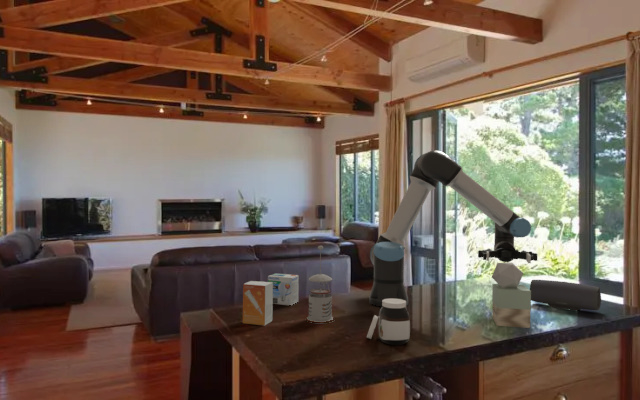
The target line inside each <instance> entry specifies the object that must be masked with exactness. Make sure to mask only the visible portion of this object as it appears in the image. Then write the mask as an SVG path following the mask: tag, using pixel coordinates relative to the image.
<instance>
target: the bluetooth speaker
mask: <svg viewBox="0 0 640 400" xmlns="http://www.w3.org/2000/svg"><path fill="white" fill-rule="evenodd" d="M529 290H530V291H531V302H537V303H539V304H546V305H548V307H549V308H553V309H559V308H560V309H561V310H565V309H570V310H569V311H572V310H580V311H581V310H588V311H599V310H600V308H601V304H602V303H601V302H602V296H601V295H602V294H601V287H598V286H594V285H590V284H583V283H576V282H567V281H558V280H548V279H547V280H545V279H532V280H531V281H530V286H529ZM560 309H559V310H560Z"/></svg>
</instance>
